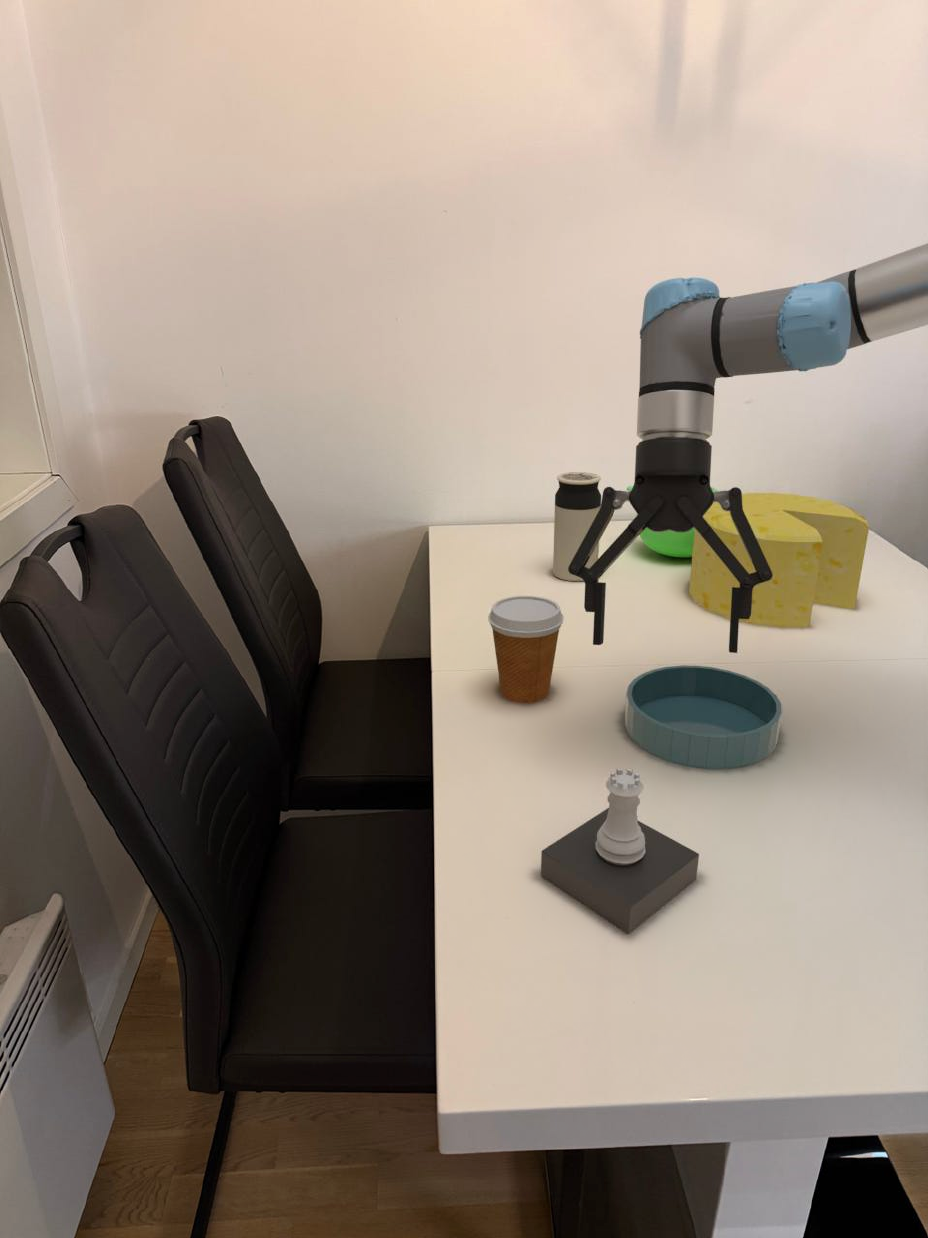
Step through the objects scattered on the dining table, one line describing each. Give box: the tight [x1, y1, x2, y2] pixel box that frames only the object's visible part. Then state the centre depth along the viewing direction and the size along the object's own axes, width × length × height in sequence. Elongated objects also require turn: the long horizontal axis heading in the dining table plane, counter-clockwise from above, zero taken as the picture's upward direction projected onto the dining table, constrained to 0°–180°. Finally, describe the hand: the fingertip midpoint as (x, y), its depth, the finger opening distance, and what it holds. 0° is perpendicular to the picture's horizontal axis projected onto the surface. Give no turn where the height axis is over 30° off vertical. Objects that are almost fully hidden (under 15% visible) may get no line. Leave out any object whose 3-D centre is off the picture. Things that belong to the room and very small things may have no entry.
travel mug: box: [552, 471, 602, 582], centre depth 148 cm, size 8×8×18 cm
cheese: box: [688, 492, 870, 628], centre depth 137 cm, size 26×26×15 cm
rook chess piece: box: [596, 767, 645, 865], centre depth 74 cm, size 4×4×8 cm
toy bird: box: [626, 485, 719, 559], centre depth 158 cm, size 18×17×15 cm
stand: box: [540, 807, 700, 935], centre depth 76 cm, size 10×10×3 cm
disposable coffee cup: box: [487, 595, 565, 704], centre depth 108 cm, size 10×10×12 cm
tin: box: [624, 664, 783, 770], centre depth 100 cm, size 18×18×4 cm
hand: (664, 648), depth 87 cm, fingers open, 13 cm apart
